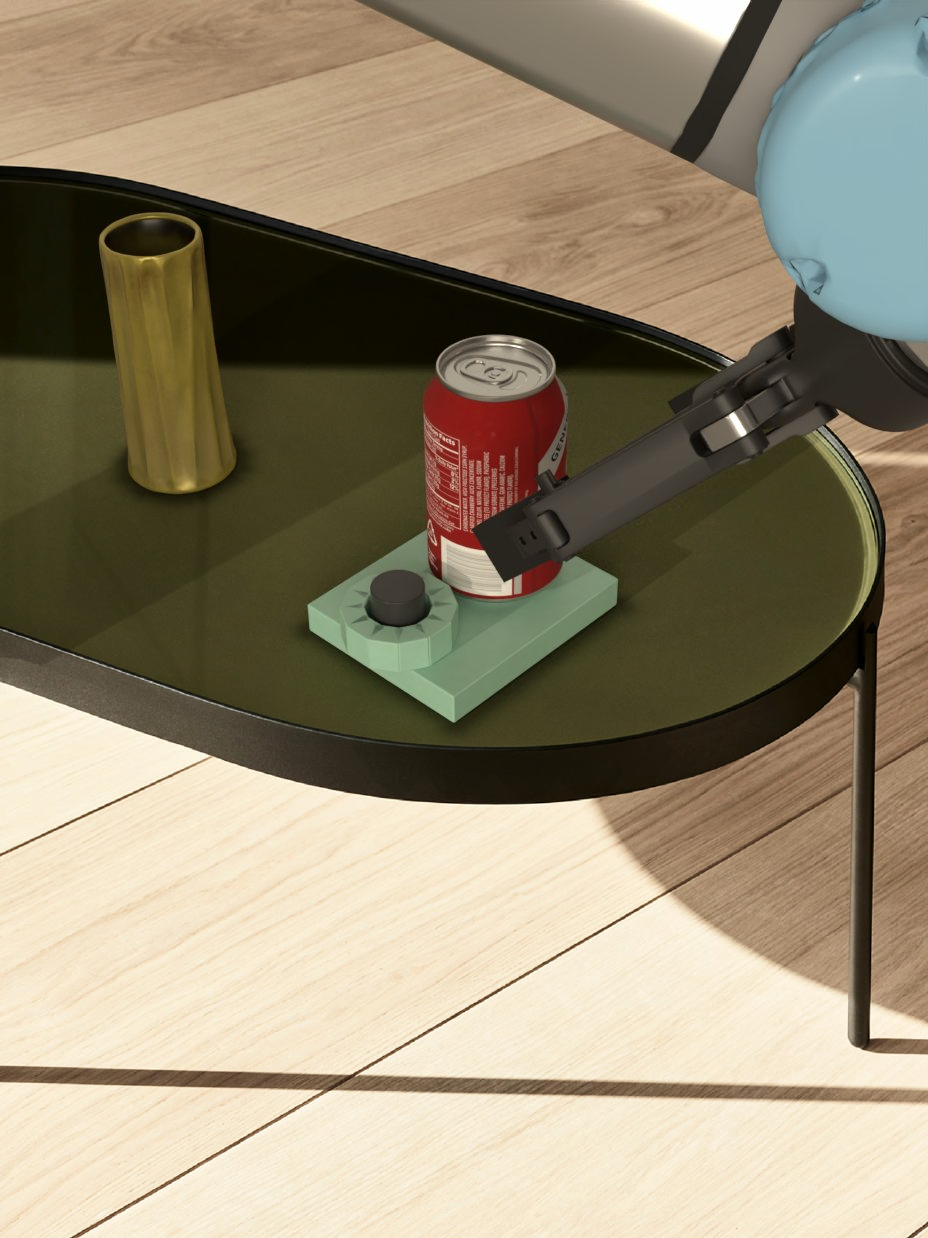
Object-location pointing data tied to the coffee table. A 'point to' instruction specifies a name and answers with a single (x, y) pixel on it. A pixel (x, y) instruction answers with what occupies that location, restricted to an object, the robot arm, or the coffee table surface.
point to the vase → (166, 353)
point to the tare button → (398, 598)
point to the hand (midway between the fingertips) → (594, 484)
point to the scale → (458, 630)
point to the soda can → (489, 455)
